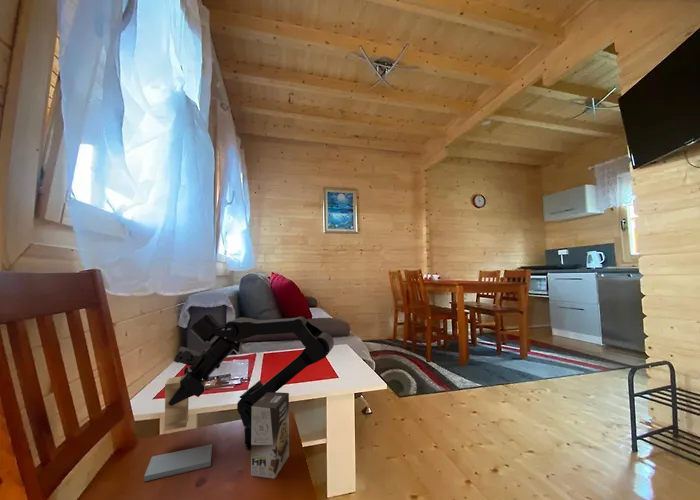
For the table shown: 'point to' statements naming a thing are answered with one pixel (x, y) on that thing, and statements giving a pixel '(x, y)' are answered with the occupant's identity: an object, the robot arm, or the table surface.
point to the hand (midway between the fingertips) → (171, 400)
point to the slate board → (178, 462)
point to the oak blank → (175, 406)
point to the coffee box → (269, 434)
